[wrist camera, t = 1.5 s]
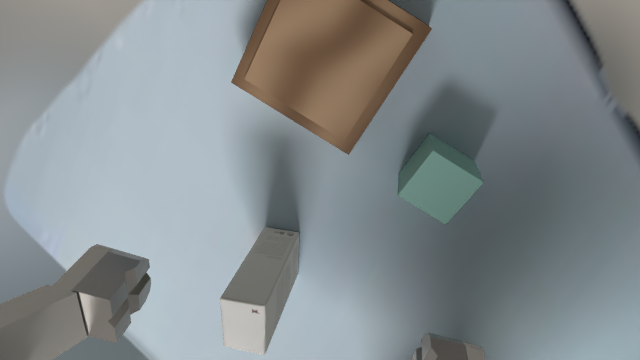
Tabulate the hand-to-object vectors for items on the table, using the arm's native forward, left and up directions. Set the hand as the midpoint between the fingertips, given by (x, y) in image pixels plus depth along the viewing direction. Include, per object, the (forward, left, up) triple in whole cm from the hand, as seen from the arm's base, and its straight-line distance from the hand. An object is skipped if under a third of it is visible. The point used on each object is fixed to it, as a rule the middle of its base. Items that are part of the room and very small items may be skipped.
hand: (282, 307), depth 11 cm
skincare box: (-1, +20, -28) cm, 34 cm away
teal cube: (-9, +2, -28) cm, 29 cm away
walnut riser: (+5, -2, -28) cm, 28 cm away
